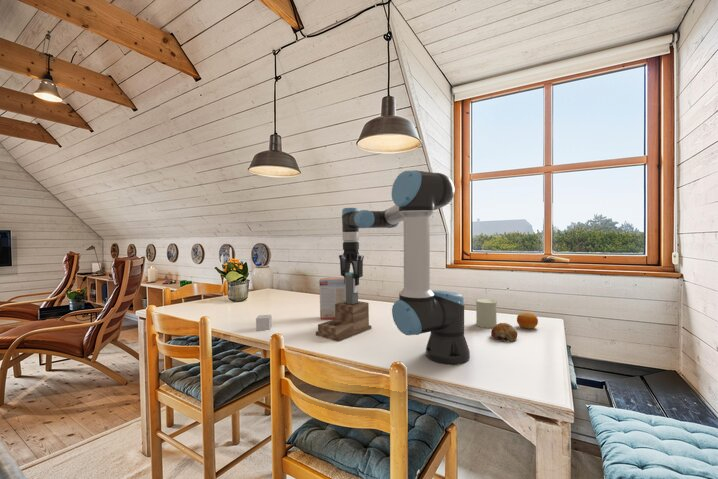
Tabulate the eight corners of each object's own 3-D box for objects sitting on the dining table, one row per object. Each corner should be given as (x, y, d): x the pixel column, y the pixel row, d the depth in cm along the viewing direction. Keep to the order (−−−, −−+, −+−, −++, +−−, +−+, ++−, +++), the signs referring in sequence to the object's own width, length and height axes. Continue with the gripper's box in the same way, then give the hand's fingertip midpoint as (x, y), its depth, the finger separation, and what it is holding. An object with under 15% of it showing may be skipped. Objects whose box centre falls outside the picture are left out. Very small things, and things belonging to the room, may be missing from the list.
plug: (358, 302, 152) (357, 272, 152) (352, 304, 149) (351, 273, 148) (351, 301, 154) (351, 272, 154) (346, 303, 151) (345, 272, 151)
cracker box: (347, 316, 175) (347, 277, 175) (346, 319, 169) (346, 279, 169) (321, 316, 176) (321, 277, 176) (319, 319, 170) (319, 279, 170)
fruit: (538, 317, 153) (530, 304, 151) (543, 329, 145) (535, 315, 143) (520, 324, 156) (512, 311, 154) (524, 336, 148) (516, 322, 147)
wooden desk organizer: (371, 328, 152) (371, 303, 151) (338, 341, 135) (338, 312, 135) (348, 323, 161) (348, 299, 160) (315, 335, 144) (315, 308, 144)
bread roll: (519, 348, 133) (524, 329, 135) (505, 342, 128) (511, 322, 130) (498, 341, 142) (503, 324, 144) (484, 335, 137) (489, 317, 139)
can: (497, 328, 149) (497, 302, 148) (476, 327, 152) (476, 301, 151) (496, 323, 158) (495, 298, 157) (475, 321, 160) (475, 297, 160)
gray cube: (271, 327, 158) (271, 314, 158) (269, 330, 152) (269, 317, 152) (259, 327, 158) (258, 315, 158) (256, 331, 152) (255, 318, 152)
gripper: (370, 241, 149) (371, 292, 149) (342, 241, 159) (343, 289, 160) (359, 241, 143) (360, 295, 143) (331, 241, 154) (332, 291, 154)
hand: (351, 291), depth 151 cm, fingers closed on plug, 4 cm apart
